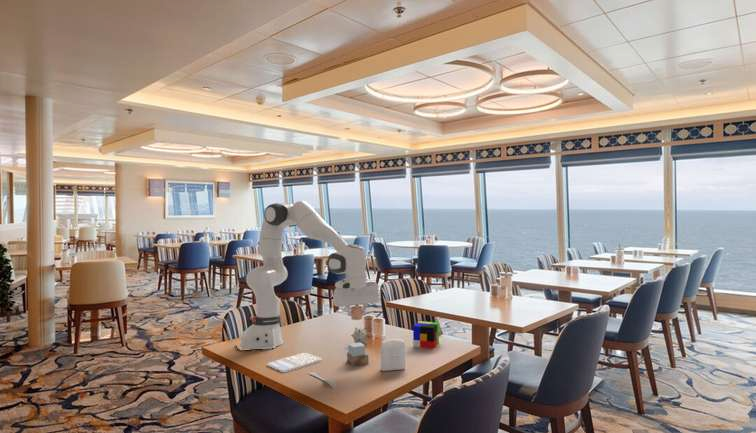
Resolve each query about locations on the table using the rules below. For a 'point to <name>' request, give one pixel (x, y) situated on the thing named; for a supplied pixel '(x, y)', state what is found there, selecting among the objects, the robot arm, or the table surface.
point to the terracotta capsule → (356, 312)
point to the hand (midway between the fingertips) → (356, 314)
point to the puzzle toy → (425, 334)
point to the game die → (360, 336)
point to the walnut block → (357, 359)
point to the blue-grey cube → (356, 349)
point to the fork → (324, 379)
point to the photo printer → (392, 354)
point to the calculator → (294, 362)
